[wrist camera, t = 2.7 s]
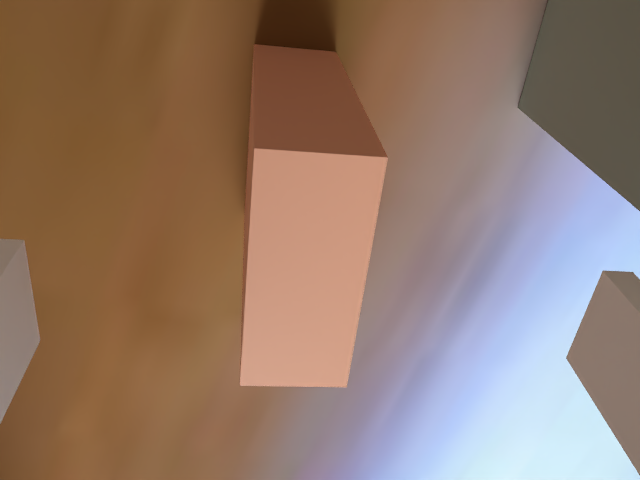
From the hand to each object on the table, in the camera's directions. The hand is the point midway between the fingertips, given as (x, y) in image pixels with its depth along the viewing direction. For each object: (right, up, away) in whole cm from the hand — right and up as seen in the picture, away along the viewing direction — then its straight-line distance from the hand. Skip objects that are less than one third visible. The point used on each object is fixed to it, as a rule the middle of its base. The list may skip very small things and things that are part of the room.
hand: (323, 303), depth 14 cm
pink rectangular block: (-1, +6, +10) cm, 11 cm away
